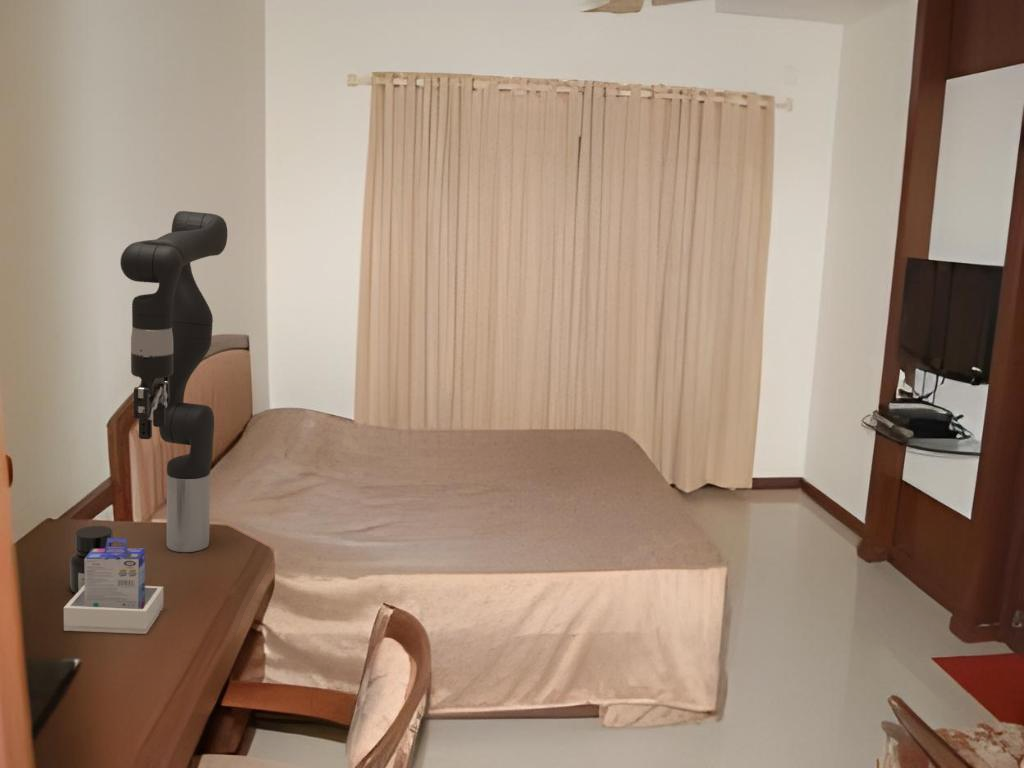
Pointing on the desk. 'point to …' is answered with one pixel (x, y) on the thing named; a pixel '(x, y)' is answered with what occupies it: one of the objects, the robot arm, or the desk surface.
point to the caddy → (113, 614)
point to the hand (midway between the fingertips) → (152, 432)
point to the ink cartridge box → (115, 576)
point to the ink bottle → (86, 551)
